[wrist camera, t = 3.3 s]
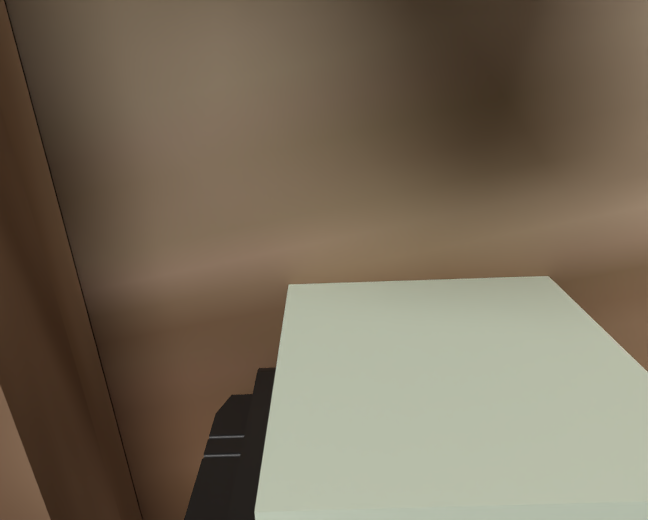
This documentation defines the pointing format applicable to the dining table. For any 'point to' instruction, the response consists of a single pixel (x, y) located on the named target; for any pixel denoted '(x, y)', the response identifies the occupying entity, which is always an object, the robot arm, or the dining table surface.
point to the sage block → (452, 406)
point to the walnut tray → (47, 342)
